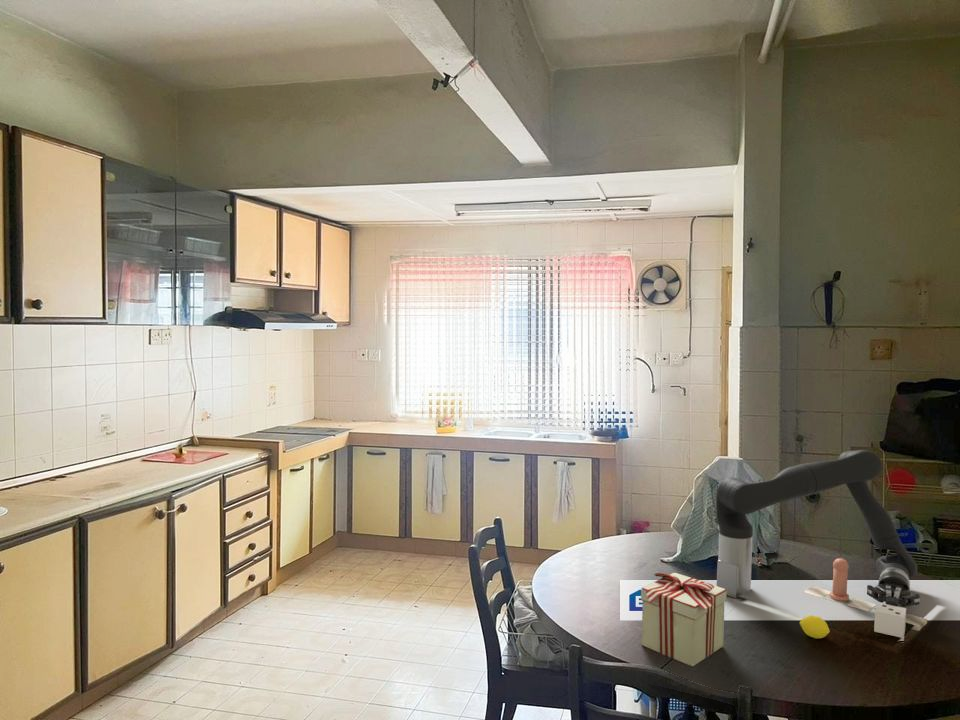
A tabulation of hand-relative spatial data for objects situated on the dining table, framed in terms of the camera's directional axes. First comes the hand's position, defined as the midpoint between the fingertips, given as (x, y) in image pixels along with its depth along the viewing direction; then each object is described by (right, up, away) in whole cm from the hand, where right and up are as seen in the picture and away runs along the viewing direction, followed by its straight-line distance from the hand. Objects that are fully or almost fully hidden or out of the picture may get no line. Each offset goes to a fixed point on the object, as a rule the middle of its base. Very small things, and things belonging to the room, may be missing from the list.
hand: (891, 606), depth 186 cm
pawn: (-5, -4, +17) cm, 18 cm away
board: (-1, -5, +13) cm, 14 cm away
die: (-2, -6, -2) cm, 7 cm away
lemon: (-22, -7, -4) cm, 23 cm away
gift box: (-58, -7, -11) cm, 59 cm away
